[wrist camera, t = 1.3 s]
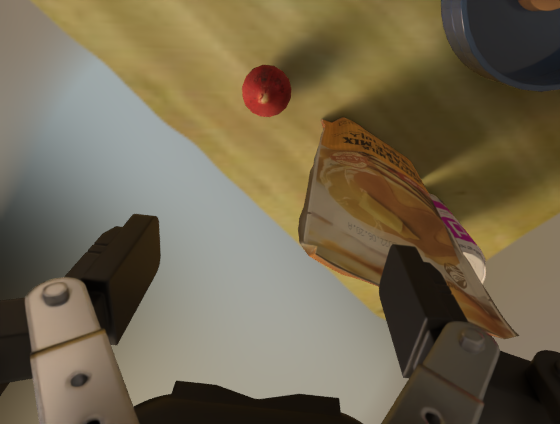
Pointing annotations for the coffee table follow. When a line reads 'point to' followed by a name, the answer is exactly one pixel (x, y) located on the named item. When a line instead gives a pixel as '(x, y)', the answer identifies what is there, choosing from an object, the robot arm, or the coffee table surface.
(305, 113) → the coffee table surface
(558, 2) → the wooden disc peg
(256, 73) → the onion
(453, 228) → the supplement can
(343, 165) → the pancake mix bag
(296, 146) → the coffee table surface
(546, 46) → the bowl
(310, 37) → the coffee table surface
